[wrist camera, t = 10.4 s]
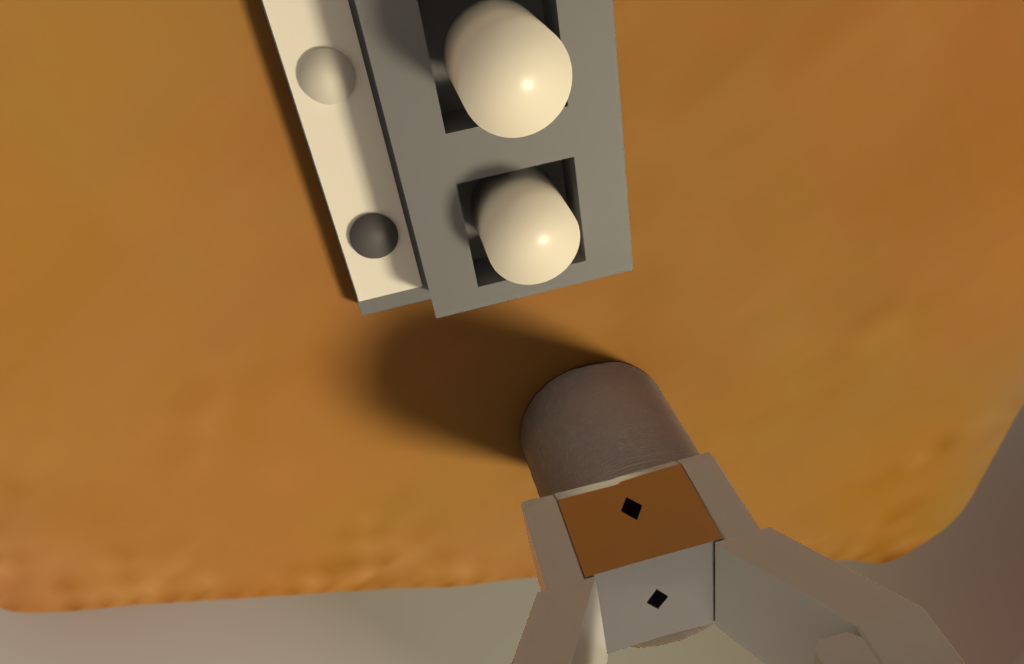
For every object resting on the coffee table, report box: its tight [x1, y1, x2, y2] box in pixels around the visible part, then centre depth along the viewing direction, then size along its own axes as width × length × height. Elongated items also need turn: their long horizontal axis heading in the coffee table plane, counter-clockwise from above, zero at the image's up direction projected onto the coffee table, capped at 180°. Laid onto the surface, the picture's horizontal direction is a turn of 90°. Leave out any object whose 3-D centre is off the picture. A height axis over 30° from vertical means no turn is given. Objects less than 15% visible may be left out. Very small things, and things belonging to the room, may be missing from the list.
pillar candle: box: [520, 362, 715, 648], centre depth 44 cm, size 10×10×15 cm
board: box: [260, 0, 633, 318], centre depth 34 cm, size 15×25×4 cm, turn 9°
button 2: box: [443, 0, 572, 138], centre depth 31 cm, size 4×4×4 cm
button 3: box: [471, 166, 580, 285], centre depth 37 cm, size 4×4×4 cm
